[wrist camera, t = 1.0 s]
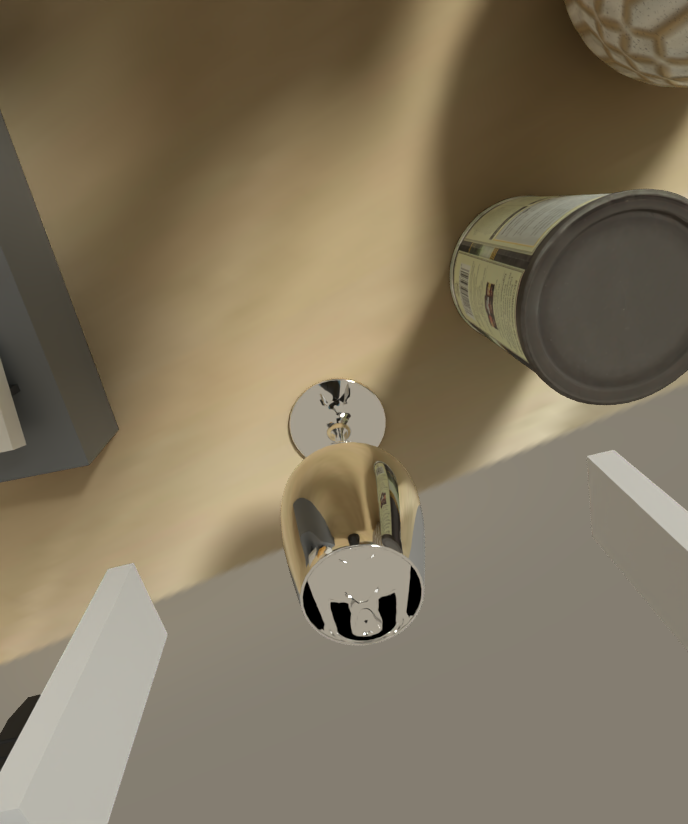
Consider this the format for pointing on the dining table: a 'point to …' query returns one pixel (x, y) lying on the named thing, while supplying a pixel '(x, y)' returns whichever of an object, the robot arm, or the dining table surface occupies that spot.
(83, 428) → the power strip
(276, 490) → the dining table surface
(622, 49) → the vase
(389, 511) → the wineglass
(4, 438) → the block
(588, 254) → the coffee can
